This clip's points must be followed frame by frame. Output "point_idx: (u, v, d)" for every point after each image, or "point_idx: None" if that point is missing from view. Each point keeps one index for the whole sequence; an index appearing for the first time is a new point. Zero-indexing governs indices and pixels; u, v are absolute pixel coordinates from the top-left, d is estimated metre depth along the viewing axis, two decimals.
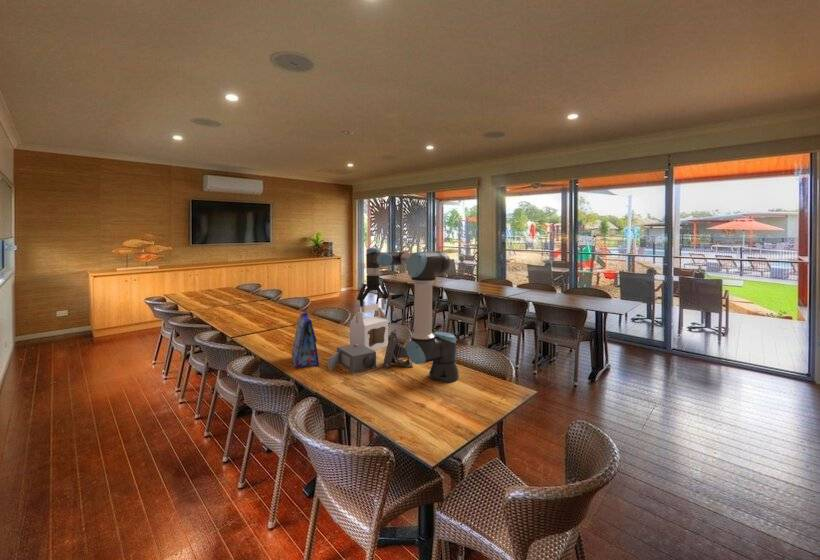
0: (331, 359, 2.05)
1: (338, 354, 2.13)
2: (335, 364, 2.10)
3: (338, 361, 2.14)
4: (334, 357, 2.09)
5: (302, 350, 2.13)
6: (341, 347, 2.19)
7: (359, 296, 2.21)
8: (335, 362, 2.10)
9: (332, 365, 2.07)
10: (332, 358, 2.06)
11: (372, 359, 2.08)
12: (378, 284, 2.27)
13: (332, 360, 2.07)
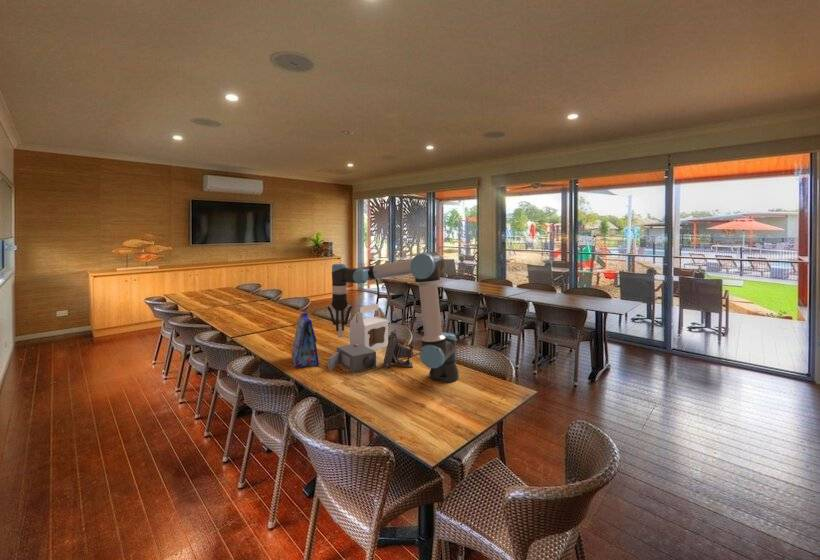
0: (331, 359, 2.05)
1: (338, 354, 2.13)
2: (335, 364, 2.10)
3: (338, 361, 2.14)
4: (334, 357, 2.09)
5: (302, 350, 2.13)
6: (341, 347, 2.19)
7: (332, 321, 2.03)
8: (335, 362, 2.10)
9: (332, 365, 2.07)
10: (332, 358, 2.06)
11: (372, 359, 2.08)
12: (345, 304, 2.03)
13: (332, 360, 2.07)
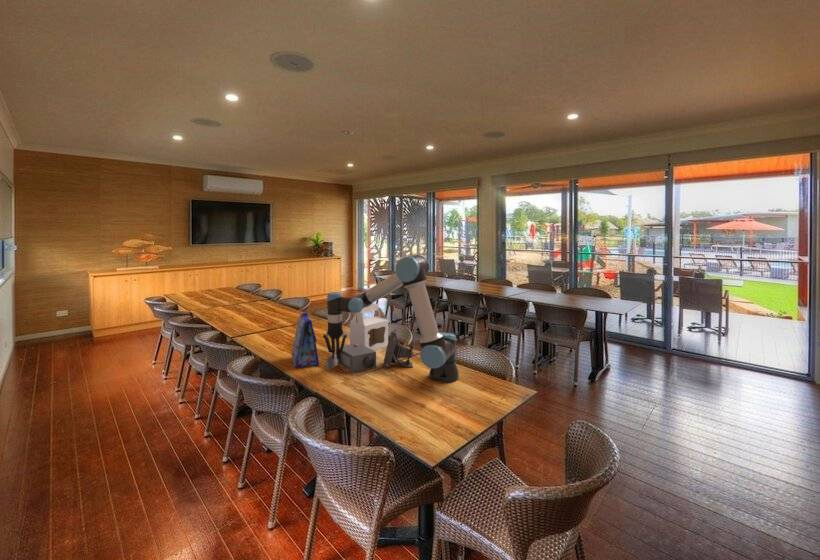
0: (329, 359, 2.05)
1: None
2: None
3: (338, 361, 2.14)
4: None
5: (302, 350, 2.13)
6: None
7: None
8: None
9: (330, 365, 2.07)
10: (330, 358, 2.07)
11: (372, 359, 2.08)
12: (340, 332, 2.04)
13: (331, 360, 2.07)
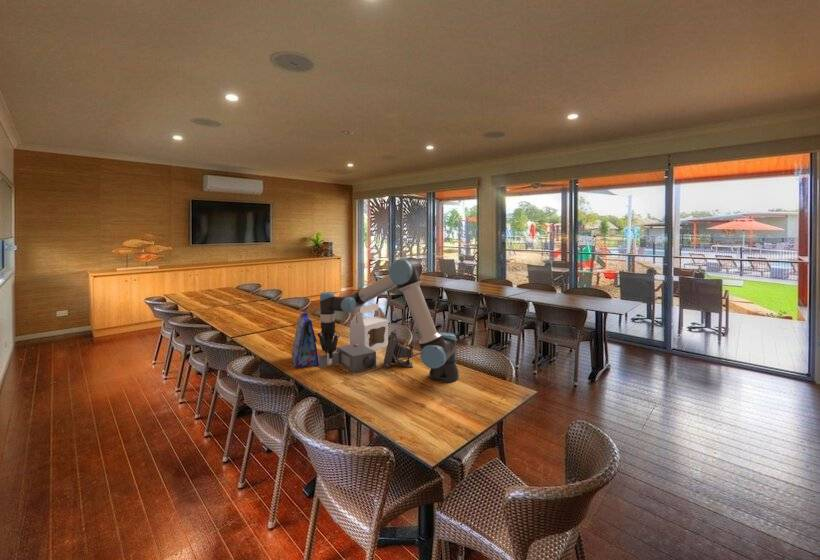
0: (322, 357, 2.08)
1: (336, 354, 2.14)
2: None
3: (336, 361, 2.14)
4: None
5: (302, 350, 2.13)
6: (341, 347, 2.19)
7: None
8: None
9: (324, 363, 2.09)
10: (324, 356, 2.09)
11: (372, 359, 2.08)
12: (331, 332, 2.04)
13: (325, 358, 2.09)
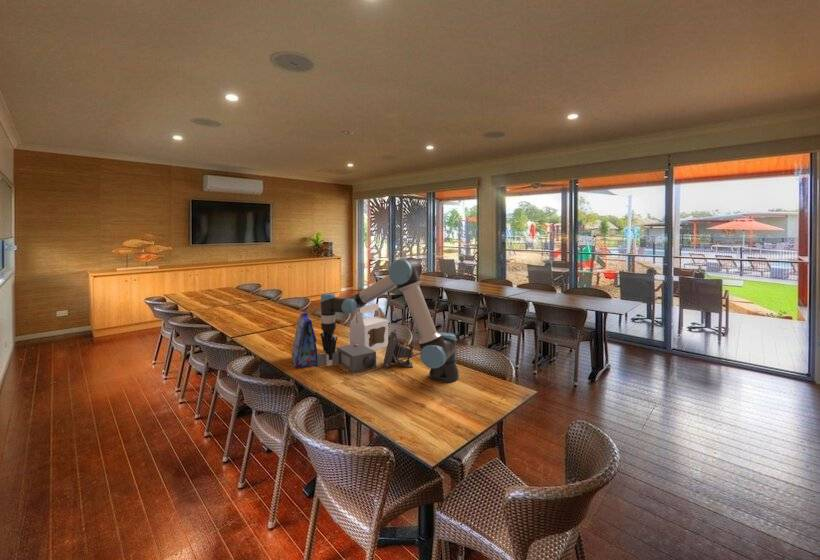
0: (320, 356, 2.10)
1: (336, 354, 2.14)
2: None
3: (335, 361, 2.14)
4: None
5: (302, 350, 2.13)
6: (341, 347, 2.19)
7: (323, 347, 2.10)
8: None
9: (322, 362, 2.11)
10: (322, 355, 2.11)
11: (372, 359, 2.08)
12: (330, 334, 2.04)
13: (323, 357, 2.11)
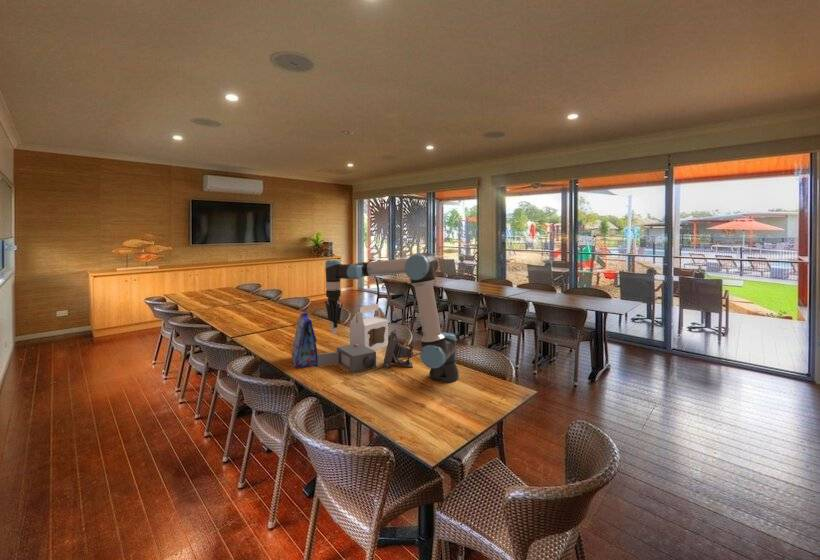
0: (320, 356, 2.10)
1: (336, 354, 2.14)
2: (329, 362, 2.13)
3: (335, 361, 2.14)
4: (327, 355, 2.12)
5: (302, 350, 2.13)
6: (341, 347, 2.19)
7: (328, 315, 2.07)
8: (329, 360, 2.13)
9: (322, 362, 2.11)
10: (322, 355, 2.11)
11: (372, 359, 2.08)
12: (335, 301, 2.01)
13: (323, 357, 2.11)
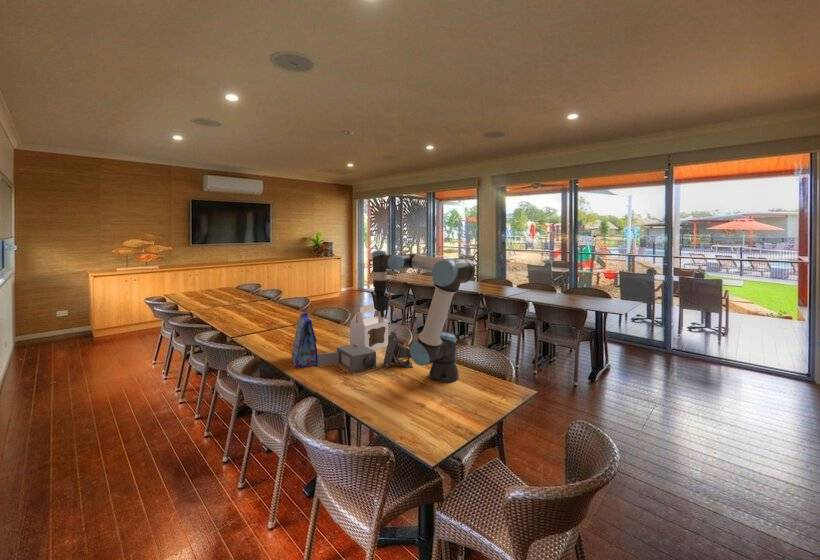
0: (320, 356, 2.10)
1: (336, 354, 2.14)
2: (329, 362, 2.13)
3: (335, 361, 2.14)
4: (327, 355, 2.12)
5: (302, 350, 2.13)
6: (341, 347, 2.19)
7: (374, 305, 2.11)
8: (329, 360, 2.13)
9: (322, 362, 2.11)
10: (322, 355, 2.11)
11: (372, 359, 2.08)
12: (382, 290, 2.06)
13: (323, 357, 2.11)
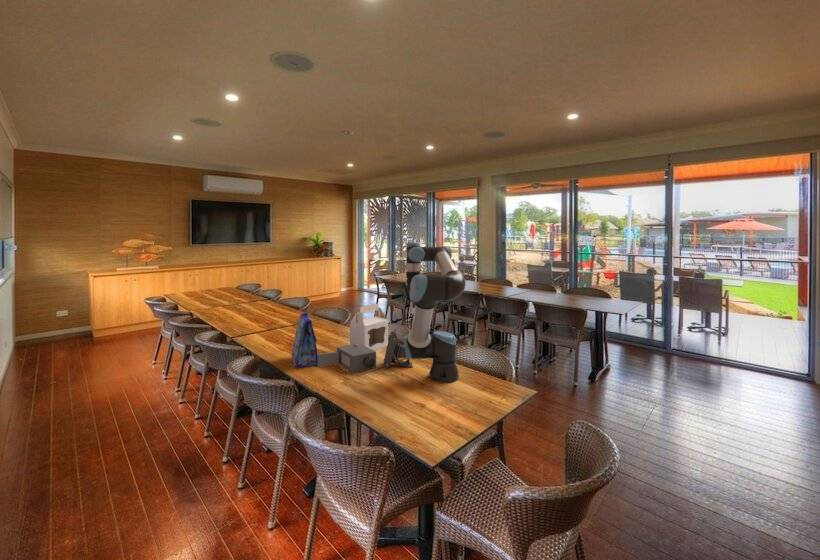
0: (320, 356, 2.10)
1: (336, 354, 2.14)
2: (329, 362, 2.13)
3: (335, 361, 2.14)
4: (327, 355, 2.12)
5: (302, 350, 2.13)
6: (341, 347, 2.19)
7: None
8: (329, 360, 2.13)
9: (322, 362, 2.11)
10: (322, 355, 2.11)
11: (372, 359, 2.08)
12: None
13: (323, 357, 2.11)
